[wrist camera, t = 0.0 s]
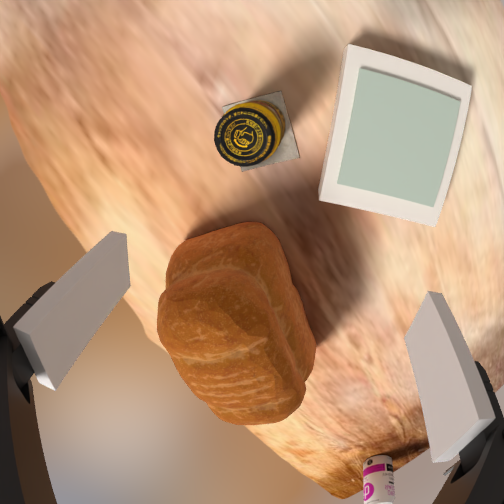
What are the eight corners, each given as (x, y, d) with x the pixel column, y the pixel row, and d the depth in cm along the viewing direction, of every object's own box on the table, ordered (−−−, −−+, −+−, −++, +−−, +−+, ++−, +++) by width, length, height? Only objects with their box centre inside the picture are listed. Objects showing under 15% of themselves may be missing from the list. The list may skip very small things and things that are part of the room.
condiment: (281, 90, 34) (271, 90, 24) (299, 157, 38) (298, 185, 27) (222, 106, 36) (189, 114, 25) (242, 171, 39) (219, 203, 29)
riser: (343, 48, 30) (349, 43, 26) (457, 85, 29) (474, 86, 25) (318, 189, 39) (319, 202, 35) (425, 214, 38) (436, 229, 34)
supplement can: (358, 464, 72) (358, 510, 59) (372, 453, 68) (374, 501, 55) (382, 466, 72) (384, 509, 59) (396, 454, 68) (401, 500, 55)
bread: (236, 364, 56) (215, 444, 41) (169, 240, 46) (112, 314, 31) (321, 351, 52) (320, 438, 37) (271, 209, 41) (251, 284, 26)
